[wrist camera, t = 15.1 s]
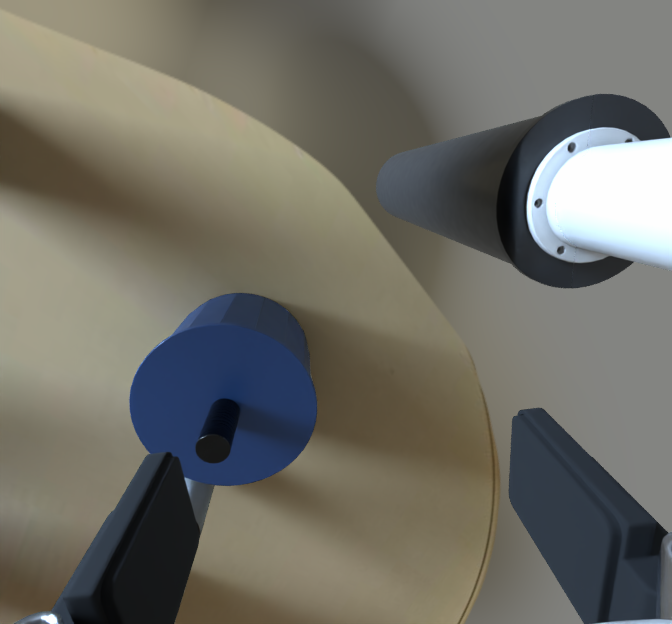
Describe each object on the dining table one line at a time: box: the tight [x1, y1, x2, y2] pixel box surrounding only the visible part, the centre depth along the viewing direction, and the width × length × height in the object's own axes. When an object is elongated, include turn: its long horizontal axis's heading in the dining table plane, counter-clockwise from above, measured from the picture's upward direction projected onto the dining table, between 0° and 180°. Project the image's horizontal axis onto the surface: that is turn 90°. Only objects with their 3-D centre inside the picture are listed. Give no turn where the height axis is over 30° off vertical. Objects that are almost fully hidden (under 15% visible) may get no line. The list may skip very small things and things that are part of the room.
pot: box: [172, 293, 311, 376], centre depth 35 cm, size 13×13×10 cm
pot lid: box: [130, 323, 317, 486], centre depth 28 cm, size 14×14×6 cm
